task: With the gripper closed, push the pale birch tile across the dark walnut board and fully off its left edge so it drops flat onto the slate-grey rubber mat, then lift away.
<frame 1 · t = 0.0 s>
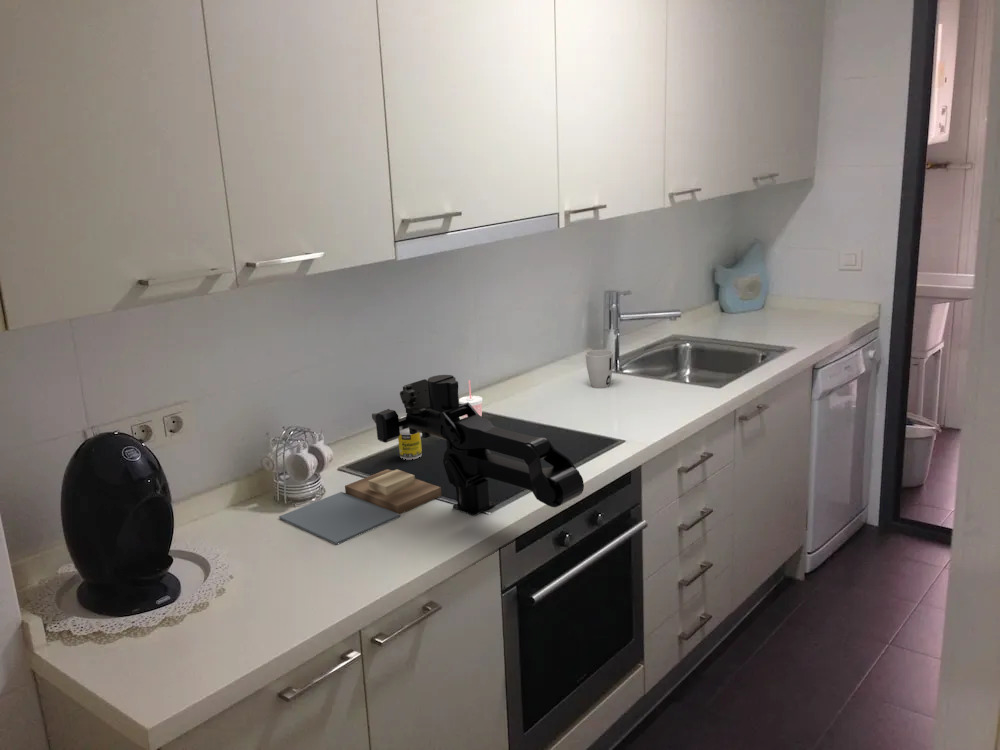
hand: (388, 410, 199), 17 cm above the worktop, tool horizontal, fingers open, 9 cm apart
beverage cup: (473, 433, 232), on the worktop
slate mat: (339, 517, 185), on the worktop
cup: (600, 386, 265), on the worktop
supplement bottle: (411, 457, 217), on the worktop
walnut board: (393, 495, 195), on the worktop
birch tile: (391, 482, 194), point 3 cm above the worktop, touching walnut board
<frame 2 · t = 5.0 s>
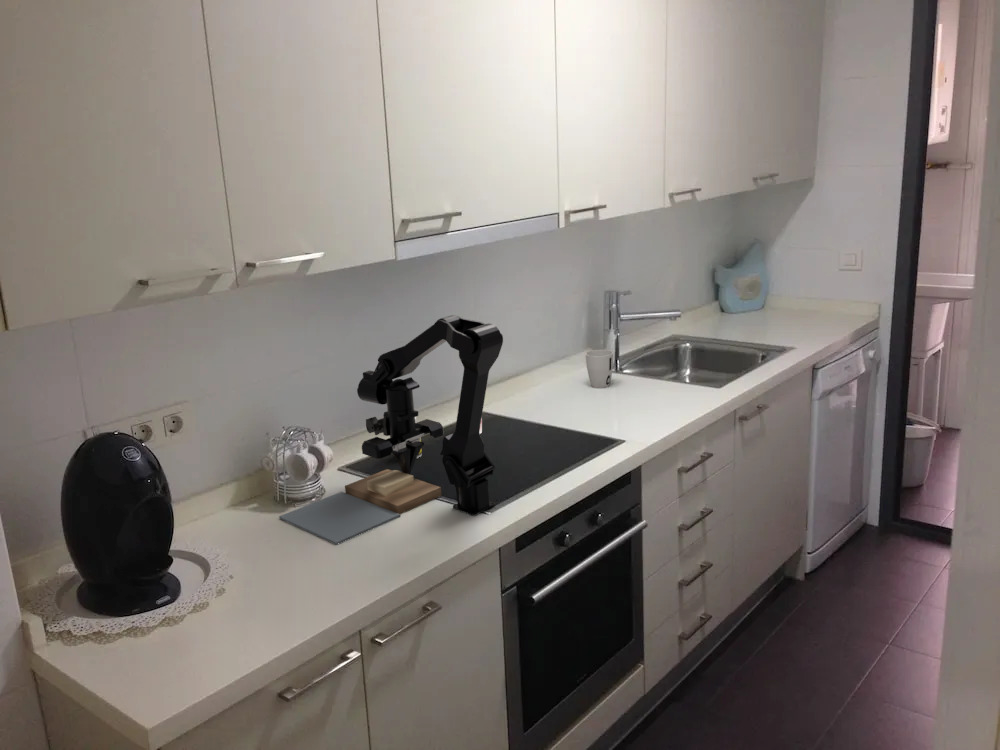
hand: (407, 475, 197), 3 cm above the worktop, tool pointing down, fingers closed
birch tile: (390, 482, 194), point 3 cm above the worktop, touching gripper, walnut board
everything else where it was.
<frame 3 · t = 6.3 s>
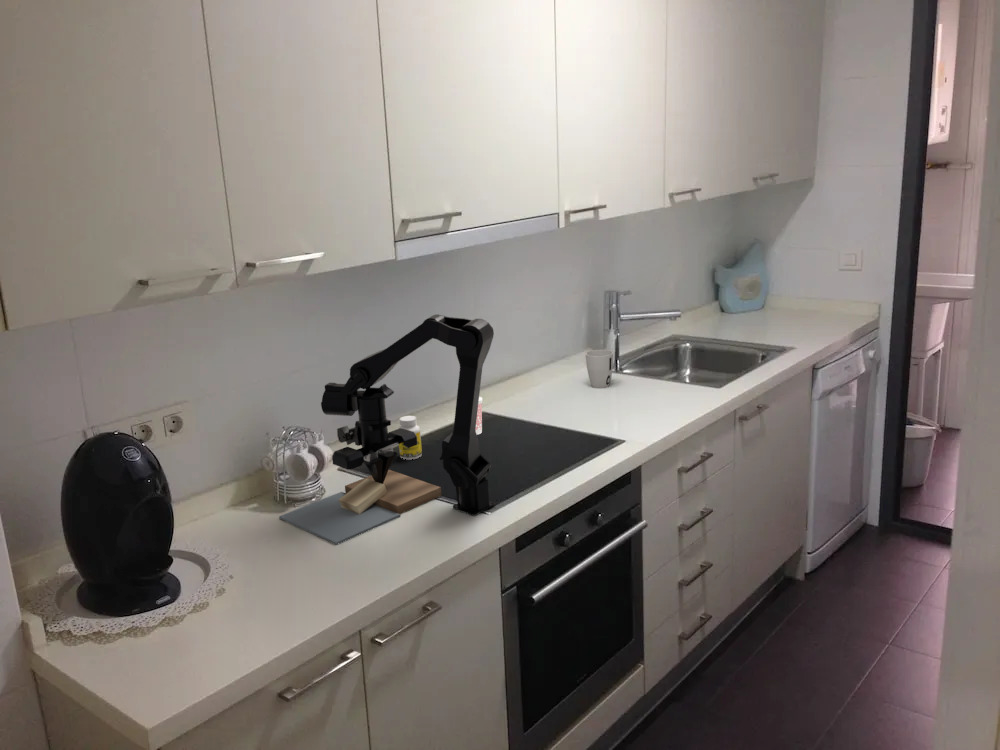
hand: (379, 485, 192), 3 cm above the worktop, tool pointing down, fingers closed
birch tile: (363, 495, 189), point 3 cm above the worktop, tilted 15°, touching gripper
everything else where it was.
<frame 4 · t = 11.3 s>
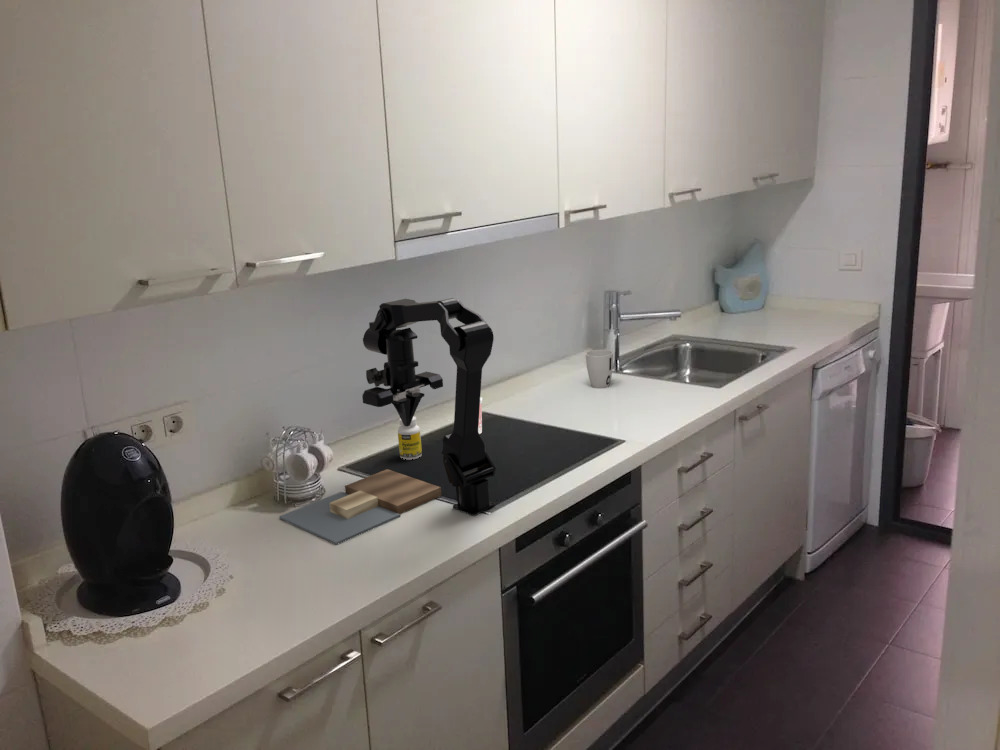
hand: (406, 425, 199), 13 cm above the worktop, tool pointing down, fingers closed
birch tile: (354, 504, 187), point 1 cm above the worktop, touching slate mat
everything else where it was.
at the end: birch tile point 1.5 cm above the worktop; birch tile inside the target area on the slate mat (4.0 cm from its centre), point 1.5 cm above the slate mat's base; birch tile touching slate mat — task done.
